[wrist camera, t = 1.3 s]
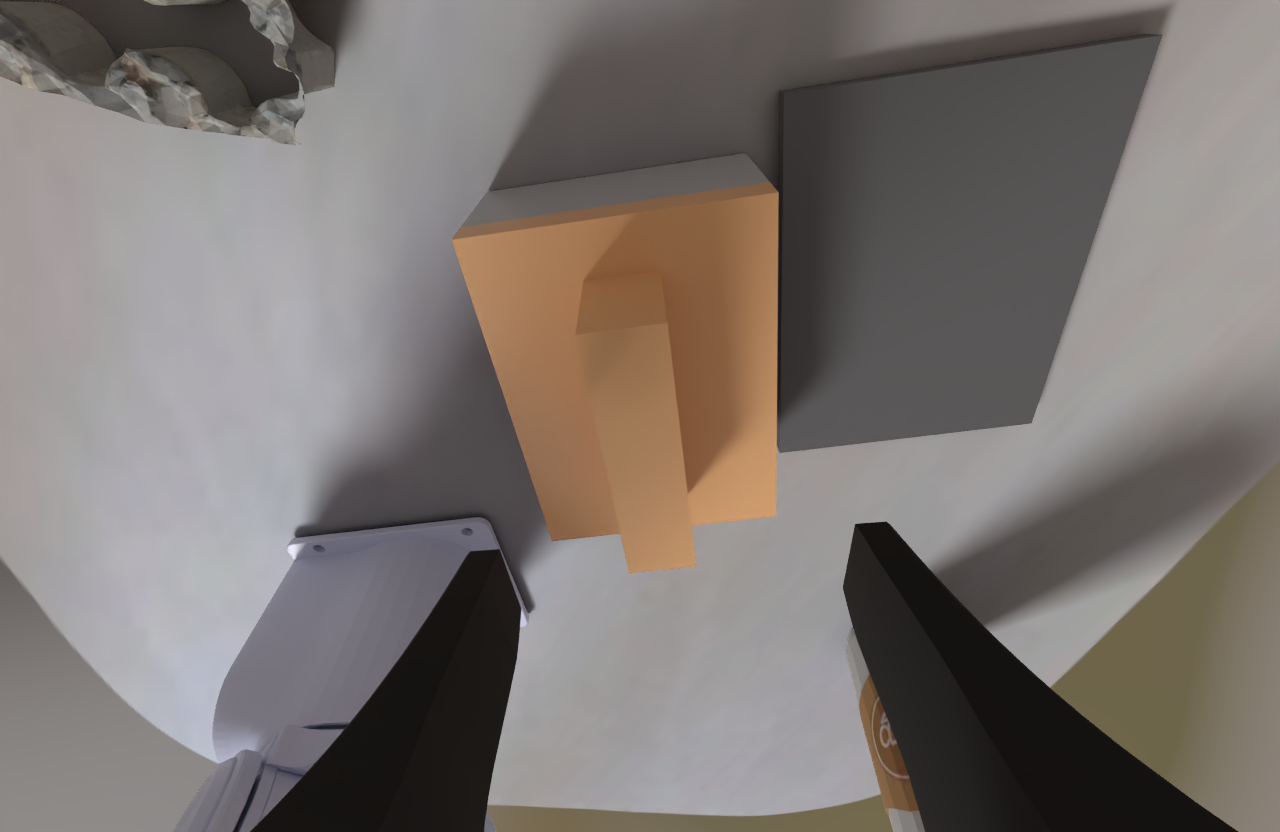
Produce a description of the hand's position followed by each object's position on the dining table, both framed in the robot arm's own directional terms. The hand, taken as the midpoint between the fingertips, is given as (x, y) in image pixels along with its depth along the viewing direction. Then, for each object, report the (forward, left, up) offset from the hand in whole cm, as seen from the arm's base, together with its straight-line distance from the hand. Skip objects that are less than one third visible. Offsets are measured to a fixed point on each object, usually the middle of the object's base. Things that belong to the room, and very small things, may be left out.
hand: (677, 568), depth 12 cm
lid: (-1, 0, -8) cm, 8 cm away
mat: (+9, 0, -11) cm, 14 cm away
